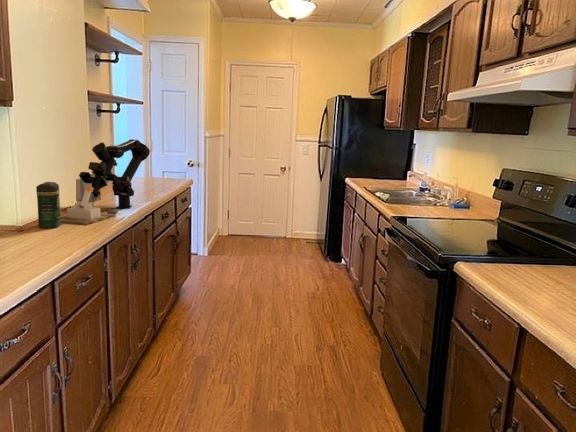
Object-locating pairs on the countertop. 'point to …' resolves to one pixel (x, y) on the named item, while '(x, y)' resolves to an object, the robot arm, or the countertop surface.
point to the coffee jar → (48, 205)
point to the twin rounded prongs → (112, 211)
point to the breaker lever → (86, 195)
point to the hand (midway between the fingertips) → (92, 192)
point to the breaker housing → (83, 211)
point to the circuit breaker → (80, 192)
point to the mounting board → (85, 221)
